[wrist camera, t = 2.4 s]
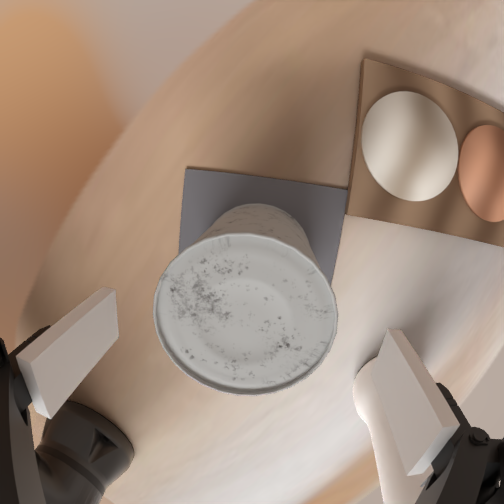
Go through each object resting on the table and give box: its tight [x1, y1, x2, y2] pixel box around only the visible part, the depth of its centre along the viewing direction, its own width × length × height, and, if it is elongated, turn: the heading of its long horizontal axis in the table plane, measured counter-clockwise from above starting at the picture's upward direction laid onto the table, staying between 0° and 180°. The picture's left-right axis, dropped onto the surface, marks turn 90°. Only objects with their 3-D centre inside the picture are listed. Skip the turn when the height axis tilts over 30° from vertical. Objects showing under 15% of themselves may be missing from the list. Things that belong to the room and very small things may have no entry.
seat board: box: [345, 58, 504, 247], centre depth 22 cm, size 20×14×2 cm
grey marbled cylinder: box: [153, 203, 338, 396], centre depth 21 cm, size 10×10×12 cm
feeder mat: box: [179, 169, 348, 286], centre depth 27 cm, size 14×14×1 cm
